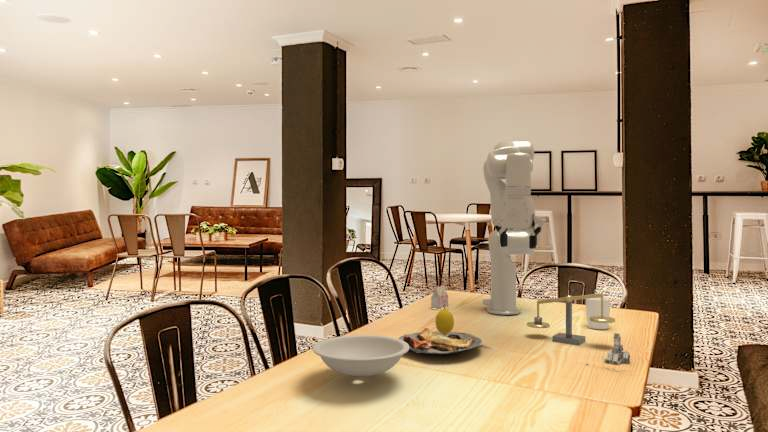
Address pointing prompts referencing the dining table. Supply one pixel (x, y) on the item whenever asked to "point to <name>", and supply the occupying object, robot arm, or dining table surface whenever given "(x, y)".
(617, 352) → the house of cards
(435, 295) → the tea bag
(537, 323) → the balance
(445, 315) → the lemon
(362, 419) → the dining table surface
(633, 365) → the dining table surface
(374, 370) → the soup bowl
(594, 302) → the white cup
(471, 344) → the food plate
